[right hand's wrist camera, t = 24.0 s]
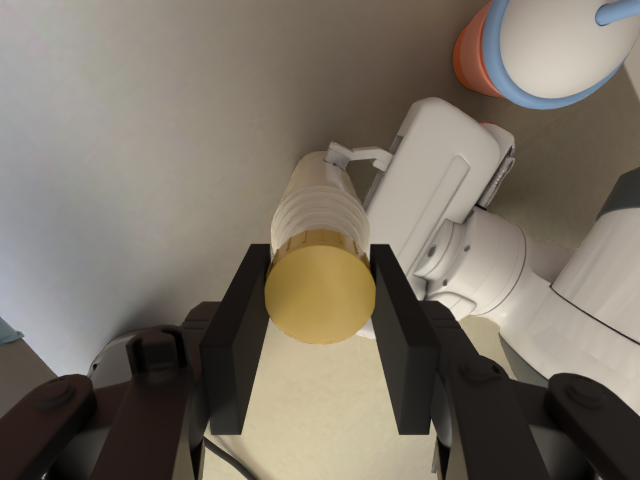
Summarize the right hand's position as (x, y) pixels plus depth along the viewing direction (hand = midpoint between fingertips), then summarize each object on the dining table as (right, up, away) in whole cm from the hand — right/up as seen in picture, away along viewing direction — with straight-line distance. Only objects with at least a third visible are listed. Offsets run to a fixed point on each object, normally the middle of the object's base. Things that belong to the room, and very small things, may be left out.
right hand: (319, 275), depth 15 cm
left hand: (-1, +5, +14) cm, 15 cm away
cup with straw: (+15, +18, +17) cm, 28 cm away
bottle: (0, +8, +20) cm, 22 cm away
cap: (0, -1, -1) cm, 2 cm away
